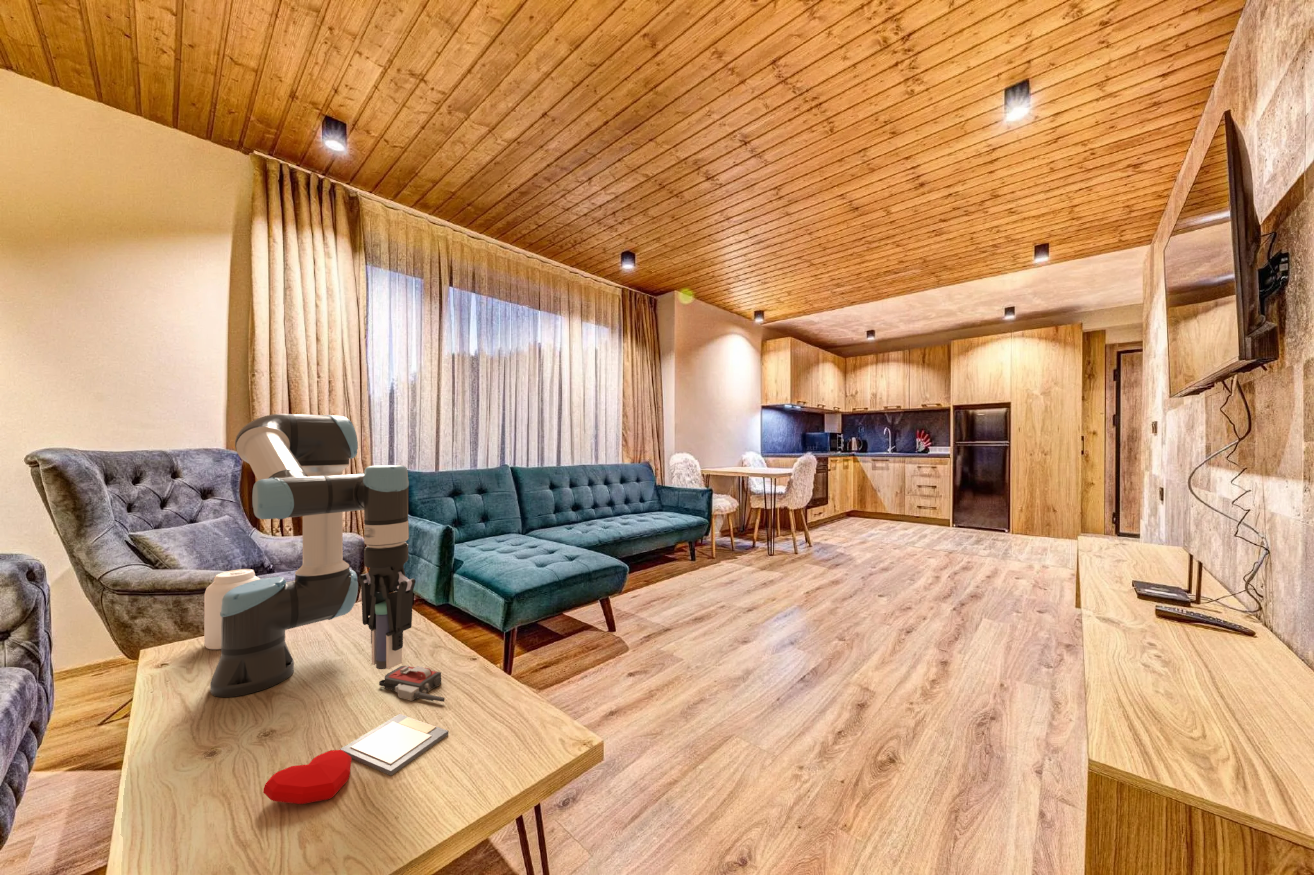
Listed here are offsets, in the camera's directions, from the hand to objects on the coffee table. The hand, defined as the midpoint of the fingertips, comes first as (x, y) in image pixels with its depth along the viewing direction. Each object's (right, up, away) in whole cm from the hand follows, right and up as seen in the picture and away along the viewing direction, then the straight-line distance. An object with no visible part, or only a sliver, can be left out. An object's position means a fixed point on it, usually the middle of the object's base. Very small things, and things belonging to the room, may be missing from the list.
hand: (386, 663), depth 90 cm
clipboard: (+3, -14, -3) cm, 15 cm away
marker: (0, 0, 0) cm, 0 cm away
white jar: (-70, -15, +43) cm, 83 cm away
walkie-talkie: (-2, -15, +17) cm, 22 cm away
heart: (-3, -14, -14) cm, 20 cm away
